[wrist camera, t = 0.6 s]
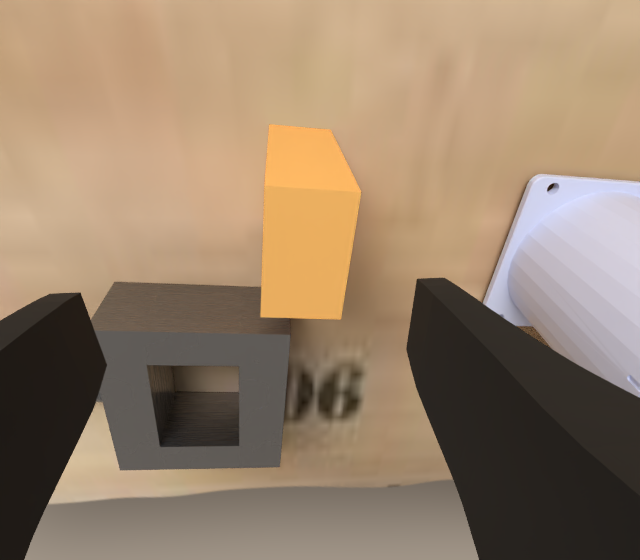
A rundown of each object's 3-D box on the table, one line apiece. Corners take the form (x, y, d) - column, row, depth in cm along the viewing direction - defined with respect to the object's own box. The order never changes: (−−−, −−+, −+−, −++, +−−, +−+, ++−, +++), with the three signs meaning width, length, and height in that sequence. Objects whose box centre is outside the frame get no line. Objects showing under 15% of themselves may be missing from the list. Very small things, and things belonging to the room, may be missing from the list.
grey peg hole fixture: (288, 288, 20) (290, 334, 17) (279, 413, 25) (279, 467, 22) (-80, 274, 18) (-150, 325, 15) (-13, 414, 23) (-57, 473, 20)
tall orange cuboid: (330, 129, 16) (361, 192, 10) (320, 223, 18) (340, 319, 12) (269, 124, 16) (264, 185, 10) (266, 220, 18) (260, 317, 12)
